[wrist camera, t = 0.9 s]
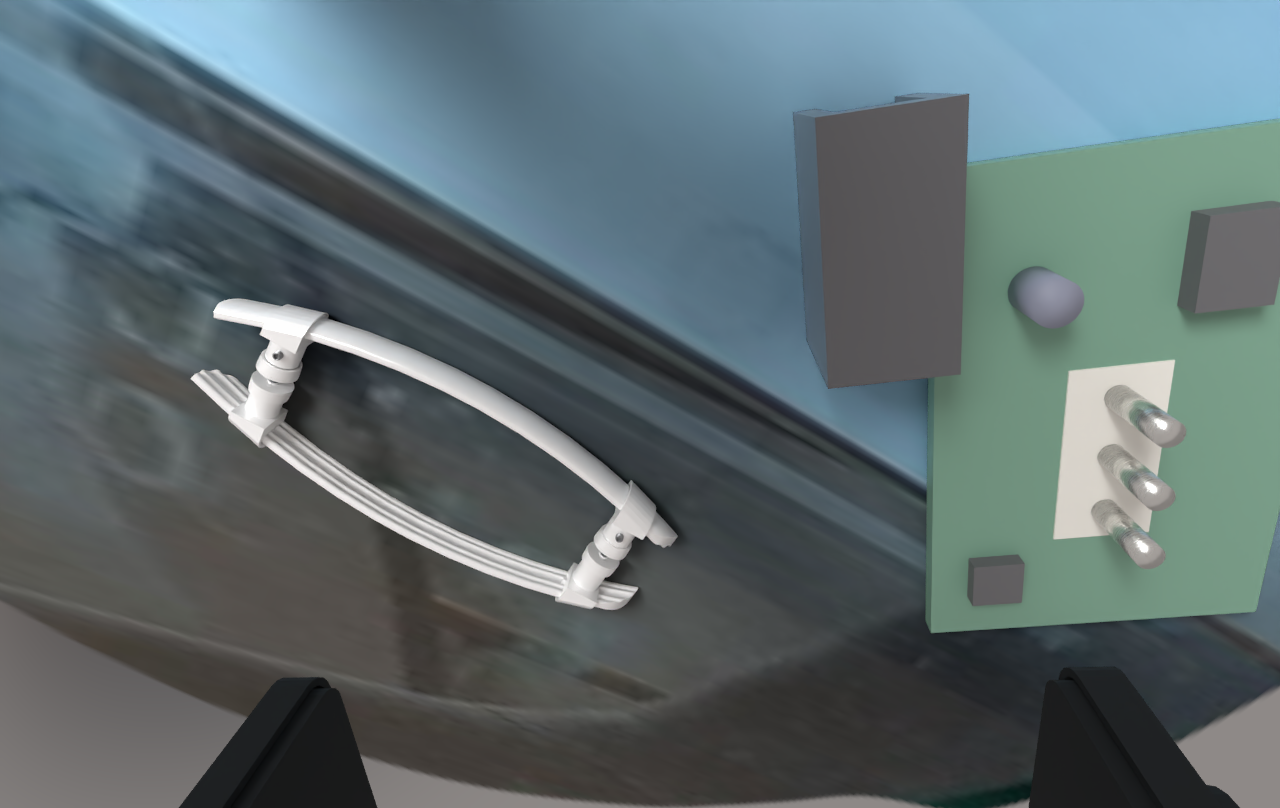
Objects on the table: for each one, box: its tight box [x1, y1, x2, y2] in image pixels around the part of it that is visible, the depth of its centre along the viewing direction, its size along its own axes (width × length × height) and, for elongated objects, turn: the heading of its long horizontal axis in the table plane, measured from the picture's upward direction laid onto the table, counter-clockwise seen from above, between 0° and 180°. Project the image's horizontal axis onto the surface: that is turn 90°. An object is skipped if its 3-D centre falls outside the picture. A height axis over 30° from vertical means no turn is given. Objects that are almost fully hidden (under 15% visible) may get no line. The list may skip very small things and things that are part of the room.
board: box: [926, 119, 1280, 633], centre depth 32 cm, size 24×16×3 cm, turn 8°
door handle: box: [191, 299, 678, 610], centre depth 37 cm, size 3×10×25 cm
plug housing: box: [793, 93, 969, 389], centre depth 29 cm, size 10×5×6 cm, turn 8°
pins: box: [1091, 385, 1186, 569], centre depth 32 cm, size 7×1×4 cm, turn 8°
